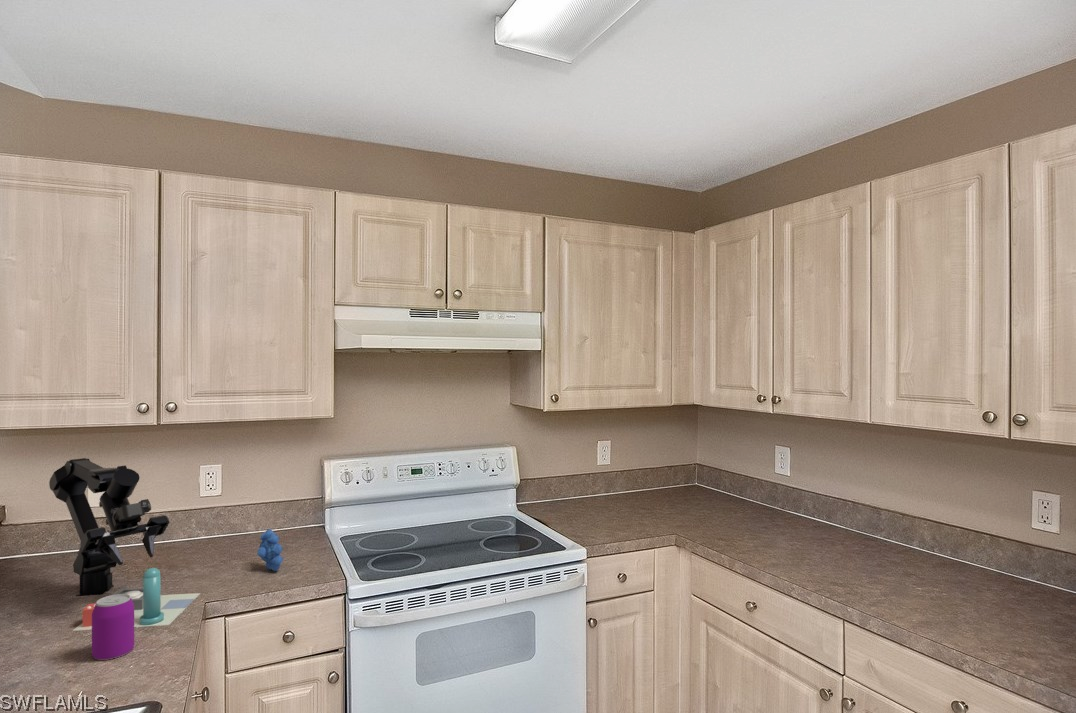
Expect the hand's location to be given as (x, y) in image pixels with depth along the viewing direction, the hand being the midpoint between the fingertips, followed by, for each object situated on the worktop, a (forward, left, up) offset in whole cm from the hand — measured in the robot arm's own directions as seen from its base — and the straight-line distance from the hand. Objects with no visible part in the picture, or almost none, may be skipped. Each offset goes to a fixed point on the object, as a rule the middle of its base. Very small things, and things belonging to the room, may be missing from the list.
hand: (137, 560), depth 157 cm
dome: (-4, +6, -12) cm, 15 cm away
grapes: (+24, +28, -14) cm, 39 cm away
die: (-7, -5, -13) cm, 16 cm away
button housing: (-4, +6, -13) cm, 15 cm away
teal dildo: (+6, -6, -13) cm, 15 cm away
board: (0, +1, -14) cm, 14 cm away
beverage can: (+5, -22, -14) cm, 26 cm away
